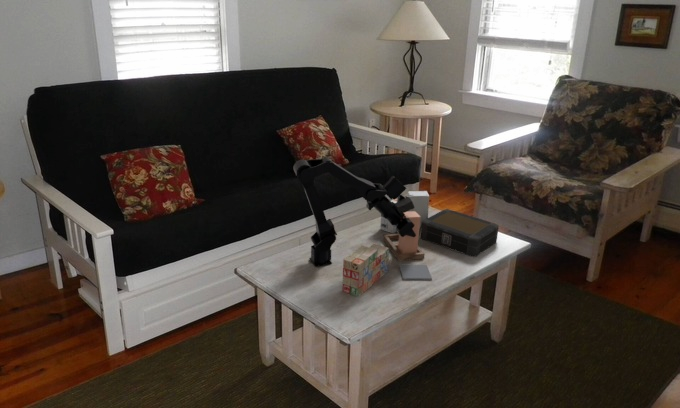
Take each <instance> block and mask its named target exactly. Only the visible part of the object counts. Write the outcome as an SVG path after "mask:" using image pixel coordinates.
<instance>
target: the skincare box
mask: <svg viewBox="0 0 680 408" xmlns="http://www.w3.org/2000/svg"><path fill="white" fill-rule="evenodd" d="M407 197H409V198H410V199H411V200H412V202H413V204H414V209H411V210H409V211H407V212H410V211H415V212H416V213H417V214H418V215H419V216H420V217H421V219H420V229H421V224H422V221H423V220H425V219H427V218H429V207H430V204H429V203H430V195H429V193H428V190H417V191H416V190H415V191H414V190H413V191H410V190H409V191H408V192H407Z"/></svg>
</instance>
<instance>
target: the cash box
mask: <svg viewBox="0 0 680 408" xmlns="http://www.w3.org/2000/svg"><path fill="white" fill-rule="evenodd" d="M498 233H499V224H498V223H497V224H496V223H494V222H491V221H487V220H484V219H482V218H478V217H474V216H473V215H472V216H471V215H469V214H464V213H462V212H459V211H455V210H453V209H448V208H445V209H442V210H440V211H438V212H436V213H435V214H433V215H431V216H430V217H429V216H428V218H427V219H425V220H423V221H422V224H421V228H420V235H419V237H420V239H422V240H424V241H427V242H430V243H433V244H436V245H438V246H441V247H444V248H446V249H450V250H453V251H455V252H458V253H461V254H463V255H466V256H469V257H473V258H474V257H478V256H479V255H480V254H482V253H483V252H484V251H485V250H487V249H489V248H491V246H493V245H494V244H496V243H497V241H498Z"/></svg>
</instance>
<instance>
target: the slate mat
mask: <svg viewBox="0 0 680 408" xmlns="http://www.w3.org/2000/svg"><path fill="white" fill-rule="evenodd" d="M398 268H399V270H400V274H401V277H402V281H432V280H433V278H432V274H431V273H430V270H429V267H428V265H427V264H398Z"/></svg>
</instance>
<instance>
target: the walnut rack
mask: <svg viewBox="0 0 680 408" xmlns="http://www.w3.org/2000/svg"><path fill="white" fill-rule="evenodd" d="M382 239H383V241H384V242H385V244H386V245H387V246H388V248H389V250H390V251H391V252H392V253H393V254H394V256H395V258H396V259H397V260H398V261H399V262H401V261H402V262H403V261H412V260H420V259H421V260H422V259H425V256H426V255H425V252H424V251H423V250H422V249H421V248H420V246H419V245H418V247H417V253H410V254H401V253H400V252H399V250H398V243H394V242H393V241H399V233H391V234H390V233H389V234H383V238H382Z"/></svg>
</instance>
